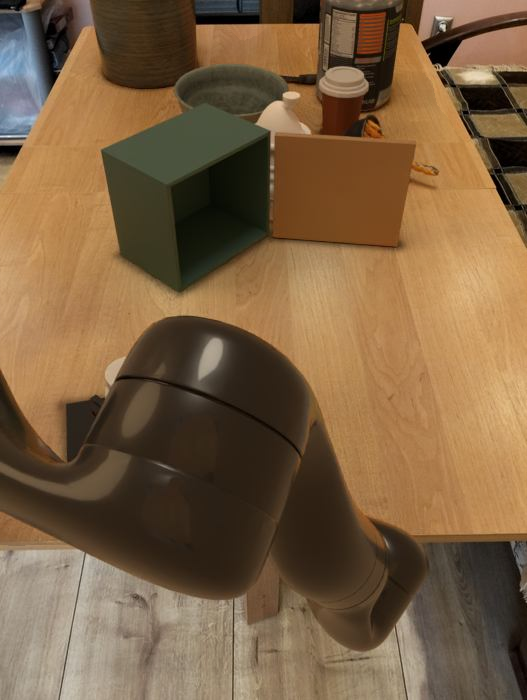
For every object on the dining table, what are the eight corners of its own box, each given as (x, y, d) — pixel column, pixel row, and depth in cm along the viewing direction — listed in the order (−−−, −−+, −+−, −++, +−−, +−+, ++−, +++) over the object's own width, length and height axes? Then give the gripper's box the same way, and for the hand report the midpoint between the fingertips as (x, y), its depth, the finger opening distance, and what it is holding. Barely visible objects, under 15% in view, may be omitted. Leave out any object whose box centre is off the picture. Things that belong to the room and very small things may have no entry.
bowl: (250, 104, 133) (249, 55, 126) (308, 146, 121) (311, 93, 114) (160, 129, 125) (154, 77, 118) (212, 176, 113) (209, 122, 106)
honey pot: (324, 187, 111) (332, 82, 98) (301, 227, 102) (307, 118, 89) (254, 173, 114) (253, 70, 101) (226, 211, 105) (222, 104, 92)
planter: (194, 90, 138) (187, -13, 124) (92, 89, 138) (72, -15, 124) (203, 51, 154) (198, -45, 139) (111, 50, 154) (96, -46, 140)
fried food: (353, 117, 119) (449, 107, 109) (355, 179, 122) (449, 174, 112) (330, 116, 112) (431, 105, 102) (333, 182, 115) (431, 176, 105)
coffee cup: (344, 152, 119) (350, 88, 111) (305, 137, 123) (309, 74, 115) (371, 135, 124) (380, 72, 116) (333, 121, 128) (339, 59, 120)
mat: (68, 492, 68) (67, 489, 67) (66, 406, 76) (65, 403, 75) (218, 464, 70) (217, 461, 70) (200, 384, 78) (200, 381, 78)
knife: (212, 76, 146) (209, 83, 142) (212, 68, 145) (208, 75, 141) (336, 77, 144) (336, 85, 140) (336, 69, 143) (337, 76, 139)
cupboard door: (276, 215, 104) (279, 115, 92) (396, 224, 103) (414, 123, 91) (272, 237, 100) (274, 135, 88) (397, 246, 98) (416, 144, 86)
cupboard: (269, 234, 101) (270, 130, 89) (179, 292, 91) (166, 184, 78) (211, 203, 107) (205, 102, 95) (120, 255, 97) (100, 149, 85)
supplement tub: (349, 76, 144) (362, -57, 126) (404, 99, 136) (427, -40, 117) (299, 96, 136) (305, -43, 118) (354, 121, 128) (370, -23, 110)
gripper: (278, 404, 63) (163, 326, 71) (168, 499, 55) (53, 399, 63) (277, 450, 68) (170, 372, 76) (176, 543, 60) (69, 446, 68)
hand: (117, 385), depth 70 cm, fingers closed on pill bottle, 5 cm apart
